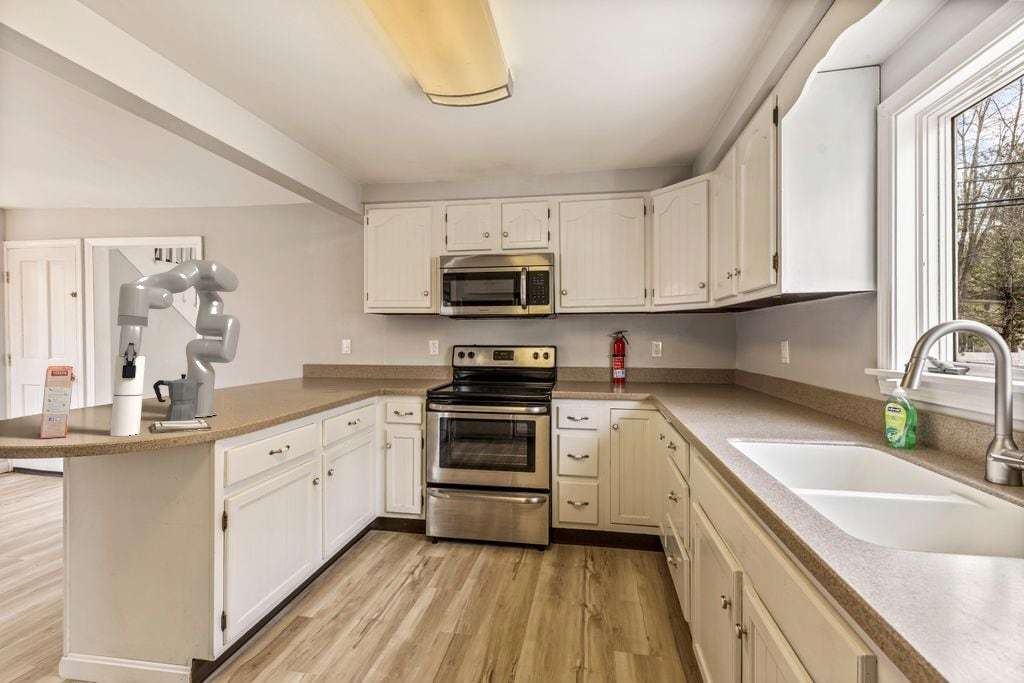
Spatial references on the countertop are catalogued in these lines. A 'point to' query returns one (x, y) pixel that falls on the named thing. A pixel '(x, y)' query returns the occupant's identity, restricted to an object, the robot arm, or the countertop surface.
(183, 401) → the coffeepot
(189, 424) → the notepad
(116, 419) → the cylindrical container
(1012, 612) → the countertop surface
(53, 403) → the cracker box
